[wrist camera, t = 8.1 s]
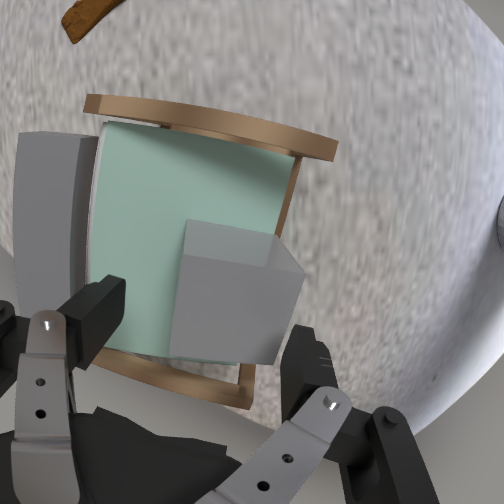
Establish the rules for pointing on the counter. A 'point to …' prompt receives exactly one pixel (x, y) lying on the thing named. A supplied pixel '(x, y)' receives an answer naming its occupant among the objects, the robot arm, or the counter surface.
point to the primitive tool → (85, 17)
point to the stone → (232, 294)
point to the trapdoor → (131, 215)
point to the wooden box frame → (298, 147)
